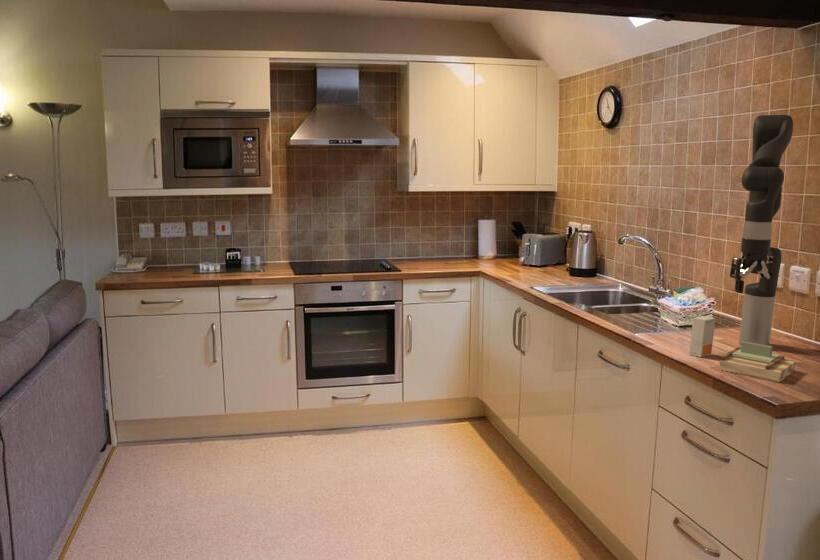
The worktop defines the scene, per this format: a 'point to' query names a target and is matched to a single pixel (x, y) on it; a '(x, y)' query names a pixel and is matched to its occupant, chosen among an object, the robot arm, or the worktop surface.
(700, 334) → the skincare box
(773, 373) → the board
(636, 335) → the worktop surface
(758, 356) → the cover
